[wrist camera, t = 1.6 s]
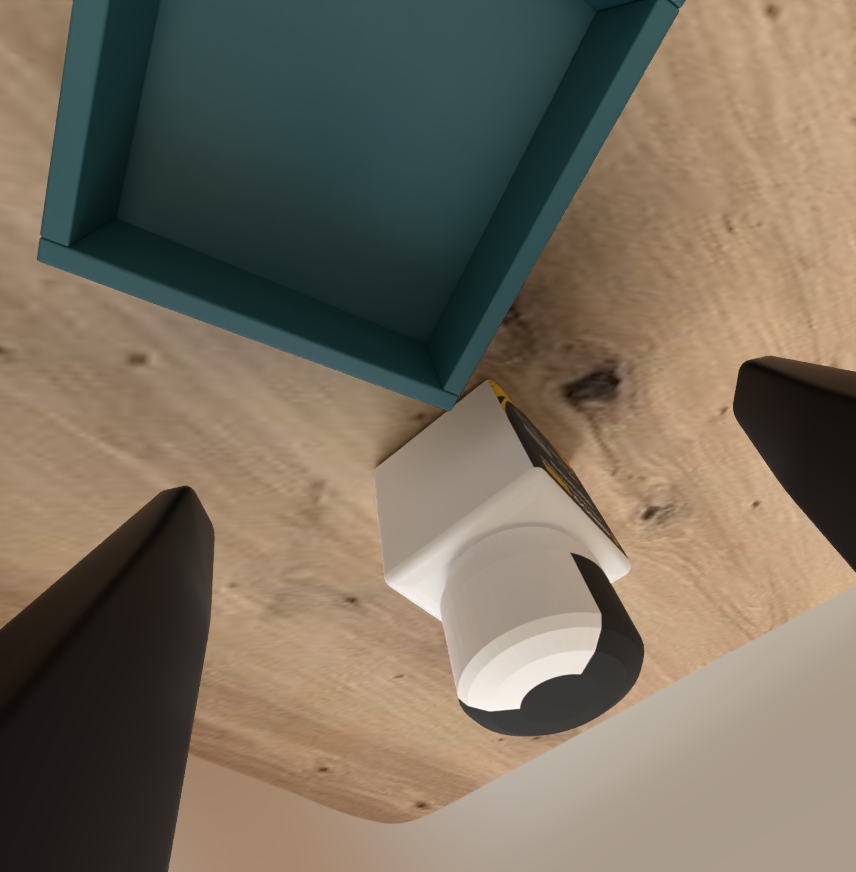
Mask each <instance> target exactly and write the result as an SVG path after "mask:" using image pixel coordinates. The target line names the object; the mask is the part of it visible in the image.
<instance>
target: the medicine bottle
mask: <svg viewBox="0 0 856 872" xmlns="http://www.w3.org/2000/svg"><path fill="white" fill-rule="evenodd" d="M374 484H375V493H376V503H377V512H378V521H379V530H380V540H381V549H382V558H383V567H384V577H385V581H386V583H387V584H388V585H389V586H390V587H391V588H393V589H394V590H396V591H397V592H399V593H400V594H402V595H403V596H405V597H406V598H408V599H409V600H411V601H412V602H414V603H415V604H417V605H418V606H420V607H421V608H422V609H424V610H425V611H427V612H428V613H430V614H431V615H433V616H434V617H436V618H437V619H439V620H440V621H442V623H443V627H444V632H445V637H446V642H447V647H448V652H449V656H450V661H451V666H452V671H453V676H454V681H455V685H456V690H457V695H458V699H459V702H460V705H461V707H462V708H463V710H464V712H465V713H466V714H467V715H468V716H469V717H471V718H472V719H473V720H475V721H476V722H477V723H479V724H480V725H482V726H483V727H485V728H487V729H489V730H491V731H493V732H497V733H500V734H505V735H511V736H539V735H549V734H555V733H559V732H563V731H567V730H570V729H573V728H576V727H578V726H581V725H583V724H585V723H587V722H589V721H591V720H593V719H595V718H597V717H598V716H600V715H601V714H603V713H605V712H606V711H607V710H609V709H610V708H612V707H613V706H614V705H616V704H617V703H618V702H619V701H620V700H622V699H623V698H624V696H625V695H626V694H627V693H628V692H629V691H630V690H631V688H632V687H633V686H634V684H635V682H636V681H637V679H638V676H639V674H640V671H641V667H642V663H643V658H644V644H643V642H642V639H641V637H640V635H639V633H638V631H637V629H636V628H635V626H634V624H633V622H632V620H631V619H630V617H629V615H628V613H627V612H626V610H625V608H624V606H623V604H622V603H621V601H620V599H619V597H618V595H617V594H616V592H615V590H614V588H613V587H612V585H611V584H612V583H613V582H615V581H616V580H618V579H619V578H621V577H623V576H624V575H626V574H627V573H628V572H629V571H630V569H631V563H630V560H629V559H628V557H627V556H626V554H625V552H624V551H623V549H622V548H621V546H620V544H619V543H618V541H617V540H616V538H615V536H614V535H613V533H612V532H611V530H610V528H609V527H608V525H607V524H606V522H605V520H604V519H603V517H602V516H601V514H600V512H599V511H598V509H597V508H596V506H595V504H594V503H593V501H592V500H591V498H590V496H589V495H588V493H587V492H586V490H585V489H584V487H583V485H582V484H581V482H580V481H579V479H578V477H577V476H576V474H575V473H574V471H573V469H572V468H571V466H570V465H569V464H568V463H567V462H566V461H565V459H564V458H563V457H562V456H561V455H560V454H559V453H558V452H557V451H556V449H555V448H554V447H553V446H552V445H551V444H550V443H549V442H548V440H547V439H546V438H545V437H544V436H543V435H542V434H541V433H540V432H539V430H538V429H537V428H536V427H535V426H534V425H533V424H532V423H531V422H530V420H529V419H528V418H527V417H526V416H525V415H524V414H523V413H522V412H521V410H520V409H519V408H518V407H517V406H516V405H515V404H514V403H513V402H512V400H511V399H510V398H509V397H508V396H507V395H506V394H505V393H504V391H503V390H502V389H501V388H500V387H499V386H498V385H497V384H496V383H495V382H493V381H492V380H486V381H484V382H483V383H482V384H480V385H479V386H478V387H477V388H475V389H474V390H473V391H472V392H470V393H469V394H468V395H467V396H465V397H464V398H463V399H462V400H460V401H459V402H458V403H457V404H455V405H454V407H453V408H452V410H451V411H447V412H445V413H444V414H443V415H442V416H440V417H439V418H438V419H437V420H435V421H434V422H433V423H432V424H430V425H429V426H428V427H427V428H425V429H424V430H423V431H422V432H420V433H419V434H418V435H417V436H415V437H414V438H413V439H412V440H410V441H409V442H408V443H407V444H405V445H404V446H403V447H402V448H400V449H399V450H398V451H397V452H395V453H394V454H393V455H392V456H390V457H389V458H388V459H387V460H385V461H384V462H383V463H382V464H380V465H379V466H378V467H377V468H376V469H375V470H374Z"/></svg>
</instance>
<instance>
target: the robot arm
mask: <svg viewBox="0 0 856 872" xmlns="http://www.w3.org/2000/svg"><path fill="white" fill-rule="evenodd" d="M733 411H734V415H735V417H736V419H737V421H738V423H739V424H740V426H741V427H742V429H743V430H744V431H745V433H746V434H747V436H748V437H749V439H750V440H751V442H752V443H753V445H754V446H755V447H756V449H757V450H758V452H759V453H760V455H761V456H762V458H763V459H764V461H765V462H766V464H767V465H768V466H769V468H770V469H771V471H772V472H773V474H774V475H775V477H776V478H777V479H778V481H779V482H780V484H781V485H782V486H783V488H784V489H785V490H786V492H787V493H788V494H789V495H790V496H791V498H792V499H793V500H794V501H795V503H796V504H797V505H798V506H799V507H800V508H801V509H802V511H803V512H804V513H805V514H806V515H807V516H808V518H809V519H810V520H811V521H812V522H813V523H814V525H815V526H816V527H817V528H818V529H819V530H820V532H821V533H822V534H823V535H824V536H825V537H826V539H827V540H828V541H829V542H830V543H831V544H832V545H833V547H834V548H835V549H836V550H837V551H838V552H839V554H840V555H841V556H842V557H843V558H844V559H845V561H846V562H847V563H848V564H849V565H850V566H851V568H852V569H853V570H854V571H855V572H856V372H854V371H849V370H843V369H838V368H833V367H828V366H822V365H817V364H812V363H807V362H801V361H796V360H791V359H786V358H780V357H775V356H765V357H761V358H756V359H752V360H748V361H746V362H744V363H743V364H742V365H741V367H740V369H739V373H738V379H737V385H736V390H735V396H734V402H733ZM213 560H214V529H213V525H212V523H211V521H210V519H209V517H208V515H207V513H206V511H205V510H204V508H203V506H202V504H201V502H200V500H199V498H198V496H197V495H196V493H195V491H194V490H193V489H192V488H191V487H189V486H181V487H177V488H172V489H168V490H164V491H162V492H160V493H159V494H158V495H157V496H156V497H154V498H153V499H152V500H151V501H150V502H149V503H147V504H146V505H145V506H144V507H143V508H142V509H140V510H139V511H138V512H137V513H136V514H135V515H133V516H132V517H131V518H130V519H129V520H128V521H126V522H125V523H124V524H123V525H122V526H121V527H119V528H118V529H117V530H116V531H115V532H114V533H112V534H111V535H110V536H109V537H108V538H107V539H105V540H104V541H103V542H102V543H101V544H100V545H98V546H97V547H96V548H95V549H94V550H93V551H91V552H90V553H89V554H88V555H87V556H86V557H84V558H83V559H82V560H81V561H80V562H79V563H77V564H76V565H75V566H74V567H73V568H72V569H70V570H69V571H68V572H67V573H66V574H65V575H63V576H62V577H61V578H60V579H59V580H58V581H56V582H55V583H54V584H53V585H52V586H51V587H49V588H48V589H47V590H46V591H45V592H44V593H42V594H41V595H40V596H39V597H38V598H37V599H35V600H34V601H33V602H32V603H31V604H30V605H28V606H27V607H26V608H25V609H24V610H23V611H21V612H20V613H19V614H18V615H17V616H16V617H14V618H13V619H12V620H11V621H10V622H9V623H7V624H6V625H5V626H4V627H3V628H2V629H0V872H168V869H169V863H170V857H171V850H172V845H173V839H174V833H175V827H176V822H177V816H178V810H179V804H180V798H181V792H182V786H183V780H184V775H185V769H186V763H187V757H188V751H189V745H190V739H191V733H192V728H193V722H194V716H195V710H196V704H197V698H198V692H199V687H200V681H201V675H202V669H203V663H204V657H205V651H206V645H207V640H208V633H209V626H210V617H211V603H212V581H213Z"/></svg>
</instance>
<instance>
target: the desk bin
mask: <svg viewBox="0 0 856 872" xmlns="http://www.w3.org/2000/svg"><path fill="white" fill-rule="evenodd" d="M684 2H685V0H73V6H72V13H71V20H70V27H69V34H68V41H67V48H66V55H65V62H64V69H63V77H62V84H61V91H60V98H59V105H58V112H57V119H56V126H55V133H54V140H53V147H52V155H51V162H50V169H49V176H48V183H47V190H46V197H45V204H44V211H43V218H42V225H41V233H40V234H41V236H42V237H41V238H40V241H39V248H38V255H37V260H38V261H39V262H42V263H45V264H48V265H50V266H53V267H56V268H59V269H61V270H64V271H67V272H70V273H72V274H75V275H78V276H80V277H83V278H86V279H89V280H91V281H94V282H97V283H100V284H102V285H105V286H108V287H111V288H113V289H116V290H119V291H121V292H124V293H127V294H130V295H132V296H135V297H138V298H141V299H143V300H146V301H149V302H151V303H154V304H157V305H160V306H162V307H165V308H168V309H171V310H173V311H176V312H179V313H182V314H184V315H187V316H190V317H192V318H195V319H198V320H201V321H203V322H206V323H209V324H212V325H214V326H217V327H220V328H222V329H225V330H228V331H231V332H233V333H236V334H239V335H242V336H244V337H247V338H250V339H253V340H255V341H258V342H261V343H263V344H266V345H269V346H272V347H274V348H277V349H280V350H283V351H285V352H288V353H291V354H293V355H296V356H299V357H302V358H304V359H307V360H310V361H313V362H315V363H318V364H321V365H324V366H326V367H329V368H332V369H334V370H337V371H340V372H343V373H345V374H348V375H351V376H354V377H356V378H359V379H362V380H364V381H367V382H370V383H373V384H375V385H378V386H381V387H384V388H386V389H389V390H392V391H395V392H397V393H400V394H403V395H405V396H408V397H411V398H414V399H416V400H419V401H422V402H425V403H427V404H430V405H433V406H435V407H438V408H441V409H444V410H446V411H451V410H452V408H453V407H454V405H455V403H456V401H457V400H458V398H459V396H458V395H460V394H461V393H462V391H463V389H464V387H465V386H466V384H467V382H468V380H469V379H470V377H471V375H472V373H473V372H474V370H475V368H476V366H477V365H478V363H479V361H480V359H481V358H482V356H483V354H484V352H485V351H486V349H487V347H488V345H489V344H490V342H491V340H492V338H493V337H494V335H495V333H496V331H497V330H498V328H499V326H500V324H501V323H502V321H503V319H504V317H505V316H506V314H507V312H508V310H509V309H510V307H511V305H512V303H513V302H514V300H515V298H516V296H517V295H518V293H519V291H520V289H521V288H522V286H523V284H524V282H525V281H526V279H527V277H528V275H529V274H530V272H531V270H532V268H533V267H534V265H535V263H536V261H537V260H538V258H539V256H540V254H541V252H542V251H543V249H544V247H545V245H546V244H547V242H548V240H549V238H550V237H551V235H552V233H553V231H554V230H555V228H556V226H557V224H558V223H559V221H560V219H561V217H562V216H563V214H564V212H565V210H566V209H567V207H568V205H569V203H570V202H571V200H572V198H573V196H574V195H575V193H576V191H577V189H578V188H579V186H580V184H581V182H582V181H583V179H584V177H585V175H586V174H587V172H588V170H589V168H590V167H591V165H592V163H593V161H594V160H595V158H596V156H597V154H598V153H599V151H600V149H601V147H602V146H603V144H604V142H605V140H606V139H607V137H608V135H609V133H610V132H611V130H612V128H613V126H614V125H615V123H616V121H617V119H618V118H619V116H620V114H621V112H622V111H623V109H624V107H625V105H626V104H627V102H628V100H629V98H630V97H631V95H632V93H633V91H634V89H635V88H636V86H637V84H638V82H639V81H640V79H641V77H642V75H643V74H644V72H645V70H646V68H647V67H648V65H649V63H650V61H651V60H652V58H653V56H654V54H655V53H656V51H657V49H658V47H659V46H660V44H661V42H662V40H663V39H664V37H665V35H666V33H667V32H668V30H669V28H670V26H671V25H672V23H673V21H674V19H675V18H676V16H677V14H678V12H679V9H678V8H681V7H682V6H683V4H684Z"/></svg>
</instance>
